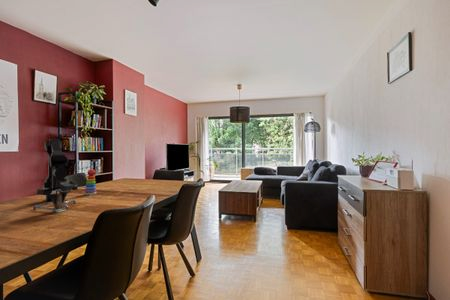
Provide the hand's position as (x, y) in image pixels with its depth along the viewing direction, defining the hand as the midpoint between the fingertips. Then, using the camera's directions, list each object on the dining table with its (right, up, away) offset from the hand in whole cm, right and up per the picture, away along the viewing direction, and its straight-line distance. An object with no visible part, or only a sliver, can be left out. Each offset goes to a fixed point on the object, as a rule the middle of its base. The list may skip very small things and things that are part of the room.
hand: (58, 204), depth 132 cm
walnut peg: (0, -2, 0) cm, 2 cm away
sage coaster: (+1, -3, 0) cm, 3 cm away
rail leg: (-8, -3, +10) cm, 13 cm away
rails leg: (-6, -3, +2) cm, 7 cm away
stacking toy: (-8, -3, +45) cm, 46 cm away
